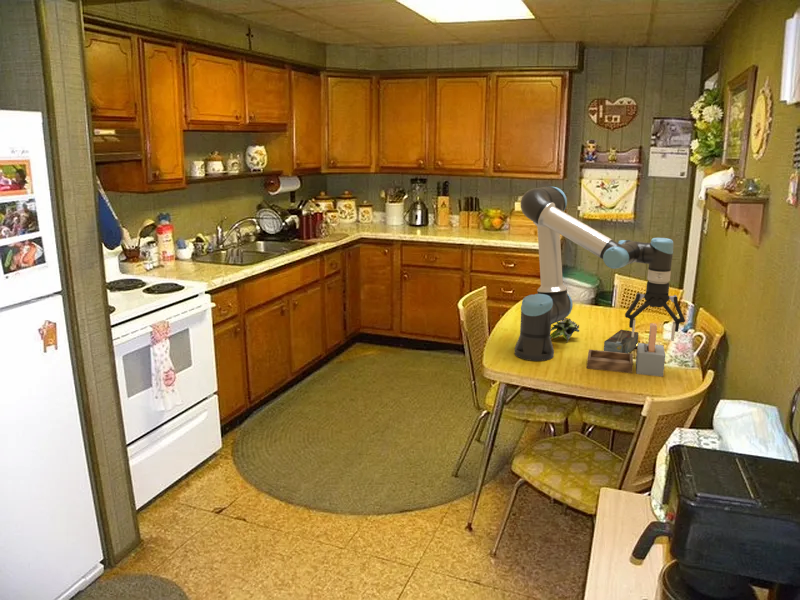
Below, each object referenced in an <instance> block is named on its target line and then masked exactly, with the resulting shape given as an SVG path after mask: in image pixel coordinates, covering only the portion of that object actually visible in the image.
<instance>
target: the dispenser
mask: <svg viewBox="0 0 800 600" xmlns="http://www.w3.org/2000/svg"><path fill="white" fill-rule="evenodd" d="M647 351H648V343H642V342H638V346H637V349H636V356H635V357H636V358H635V371H636V372H635V373H636V374H637V375H644V376H653V377H662V378H663V377H664V372H665V364H666V363H665V362H666V353H665V351H666V350H665V346H664V345H662V344H655V352H647Z"/></svg>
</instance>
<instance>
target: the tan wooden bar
mask: <svg viewBox="0 0 800 600" xmlns="http://www.w3.org/2000/svg"><path fill="white" fill-rule="evenodd" d="M657 331H658V326H657V323H652V322H651V323H649V331H648V334H649V335H648V343H647V344H648V351H647V352H655V345H656V343H657V342H656V341H657Z"/></svg>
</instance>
